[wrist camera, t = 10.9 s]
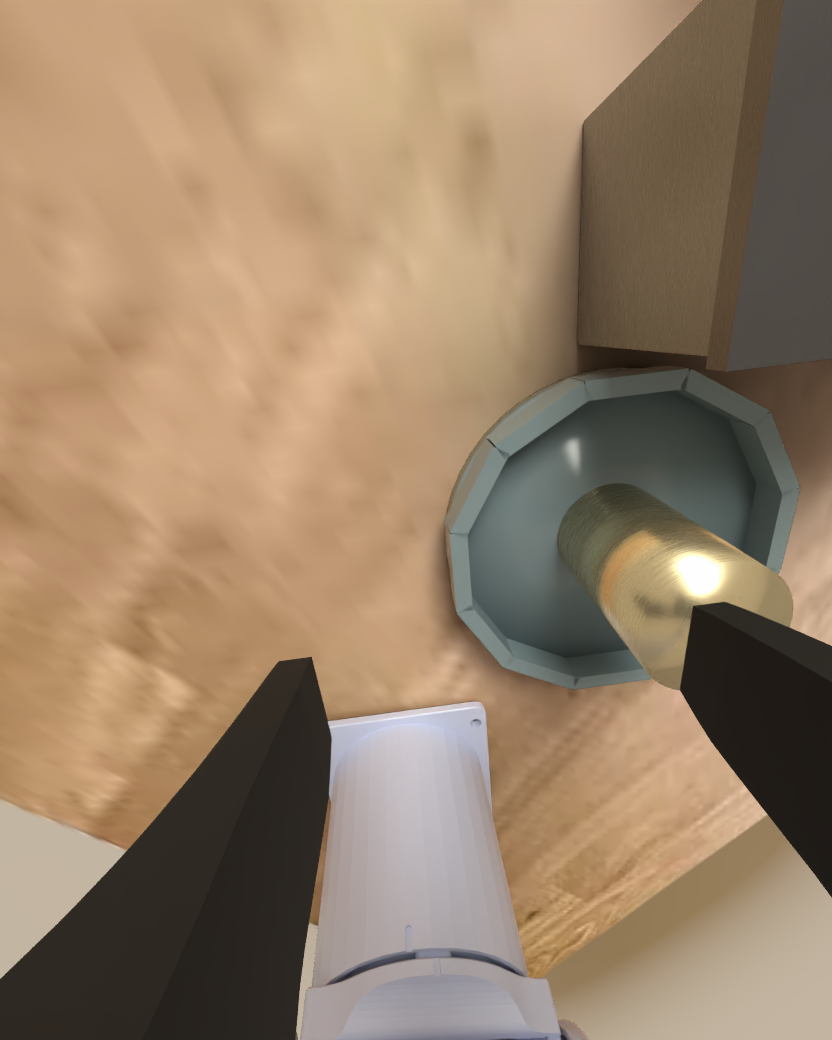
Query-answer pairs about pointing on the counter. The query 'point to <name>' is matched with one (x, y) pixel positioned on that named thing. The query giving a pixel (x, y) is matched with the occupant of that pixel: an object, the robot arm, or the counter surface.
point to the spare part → (659, 573)
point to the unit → (715, 192)
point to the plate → (588, 465)
